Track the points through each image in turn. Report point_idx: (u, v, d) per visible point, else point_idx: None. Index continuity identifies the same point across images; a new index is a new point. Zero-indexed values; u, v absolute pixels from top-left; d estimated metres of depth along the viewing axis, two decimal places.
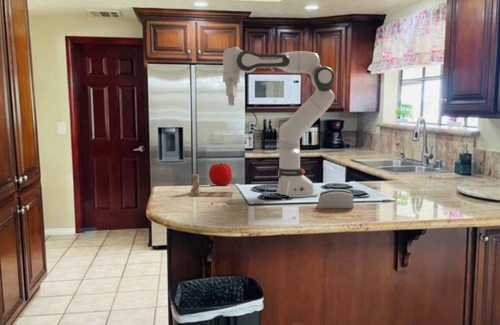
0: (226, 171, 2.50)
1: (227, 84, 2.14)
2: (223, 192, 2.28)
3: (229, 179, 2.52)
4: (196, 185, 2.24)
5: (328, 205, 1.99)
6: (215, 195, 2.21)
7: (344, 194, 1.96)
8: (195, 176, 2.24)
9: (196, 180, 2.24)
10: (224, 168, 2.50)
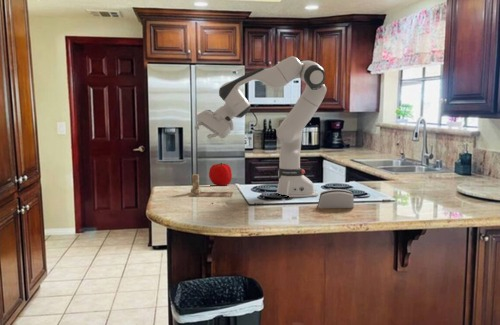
0: (226, 171, 2.50)
1: None
2: (223, 192, 2.28)
3: (229, 179, 2.52)
4: (196, 185, 2.24)
5: (328, 205, 1.98)
6: (215, 195, 2.21)
7: (344, 194, 1.96)
8: (195, 176, 2.24)
9: (196, 180, 2.24)
10: (224, 168, 2.50)
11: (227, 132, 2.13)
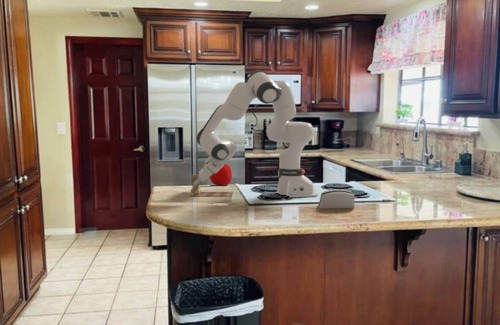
0: (226, 171, 2.50)
1: None
2: (223, 192, 2.28)
3: (229, 179, 2.52)
4: (196, 185, 2.24)
5: (329, 205, 1.98)
6: (215, 195, 2.21)
7: (345, 194, 1.95)
8: (195, 176, 2.24)
9: None
10: (224, 168, 2.50)
11: (205, 175, 2.16)
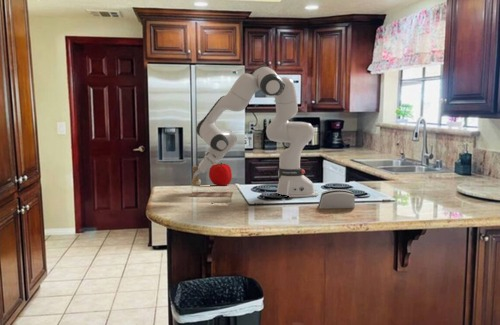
0: (226, 171, 2.50)
1: None
2: (223, 192, 2.28)
3: (229, 179, 2.52)
4: (196, 176, 2.24)
5: (330, 205, 1.98)
6: (215, 195, 2.21)
7: (346, 194, 1.95)
8: (195, 168, 2.23)
9: None
10: (224, 168, 2.50)
11: (205, 166, 2.15)
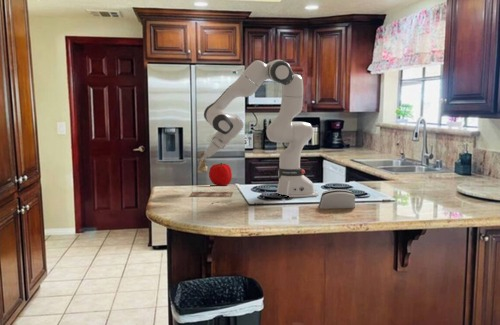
0: (226, 171, 2.50)
1: None
2: (223, 192, 2.28)
3: (229, 179, 2.52)
4: (203, 163, 2.25)
5: (330, 205, 1.98)
6: (215, 195, 2.21)
7: (346, 194, 1.95)
8: (202, 154, 2.25)
9: None
10: (224, 168, 2.50)
11: (211, 150, 2.16)
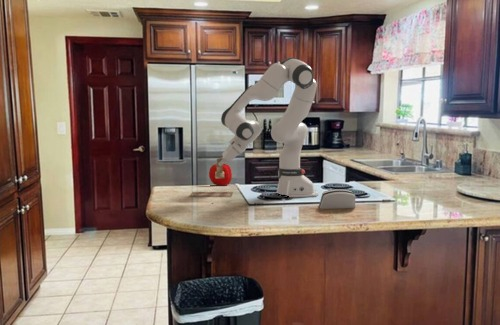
0: (226, 171, 2.50)
1: None
2: (223, 192, 2.28)
3: (229, 179, 2.52)
4: (220, 168, 2.22)
5: (330, 205, 1.98)
6: (215, 195, 2.21)
7: (346, 194, 1.95)
8: (220, 160, 2.22)
9: None
10: (224, 168, 2.50)
11: (231, 155, 2.13)
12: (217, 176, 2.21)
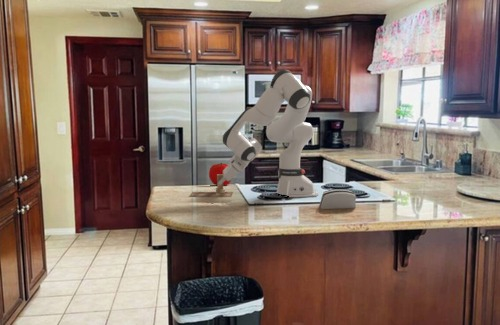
0: None
1: None
2: None
3: None
4: (221, 185, 2.24)
5: (331, 205, 1.97)
6: (215, 195, 2.21)
7: (347, 194, 1.95)
8: (220, 176, 2.23)
9: None
10: (224, 168, 2.50)
11: (231, 174, 2.15)
12: (218, 192, 2.23)
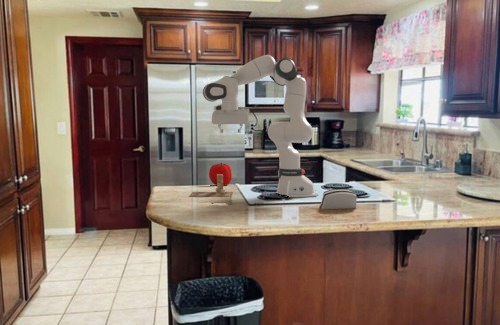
0: (226, 171, 2.50)
1: (247, 113, 2.28)
2: None
3: (229, 179, 2.52)
4: (221, 185, 2.24)
5: (332, 206, 1.97)
6: (215, 195, 2.21)
7: (348, 194, 1.95)
8: (220, 176, 2.23)
9: (221, 180, 2.23)
10: (224, 168, 2.50)
11: None
12: (218, 192, 2.23)
